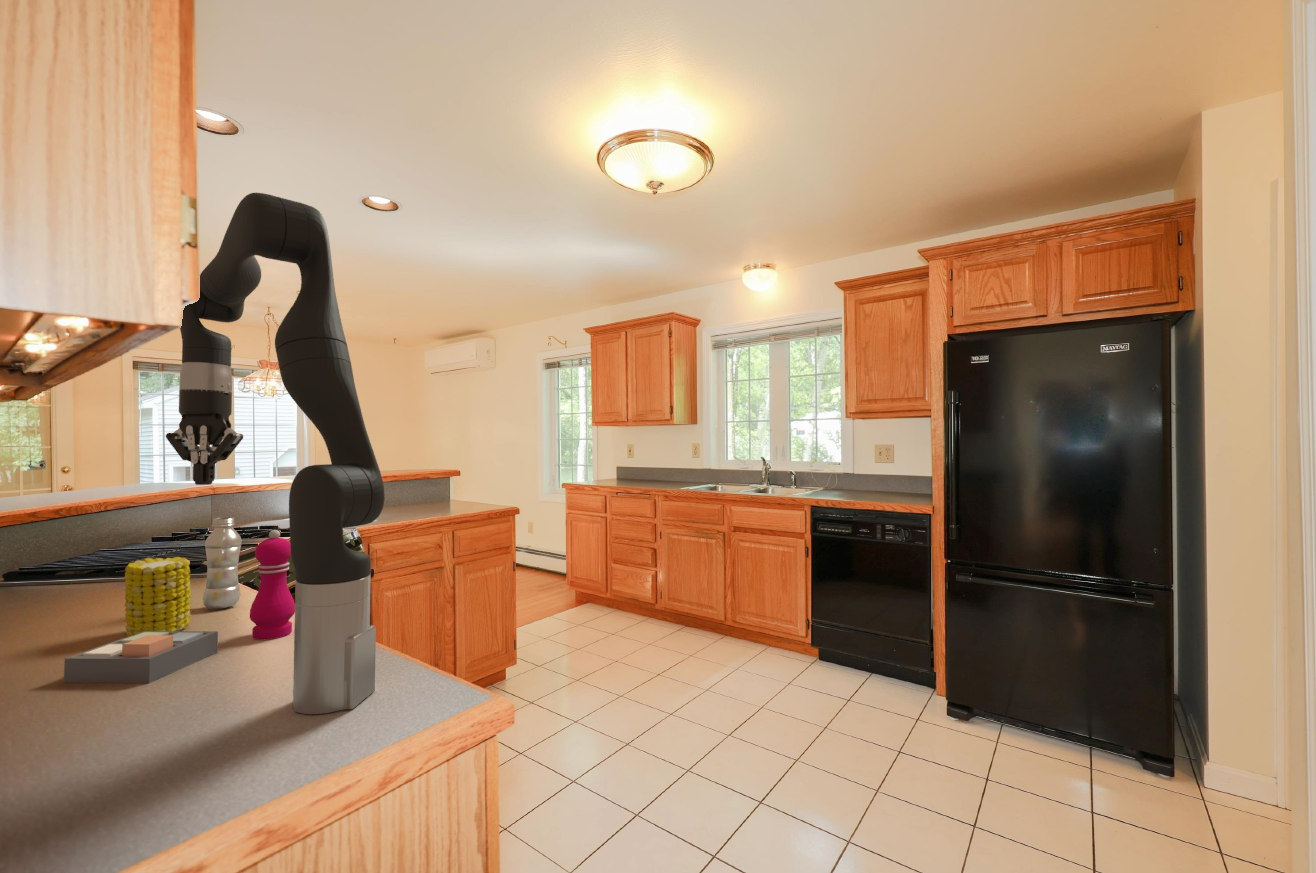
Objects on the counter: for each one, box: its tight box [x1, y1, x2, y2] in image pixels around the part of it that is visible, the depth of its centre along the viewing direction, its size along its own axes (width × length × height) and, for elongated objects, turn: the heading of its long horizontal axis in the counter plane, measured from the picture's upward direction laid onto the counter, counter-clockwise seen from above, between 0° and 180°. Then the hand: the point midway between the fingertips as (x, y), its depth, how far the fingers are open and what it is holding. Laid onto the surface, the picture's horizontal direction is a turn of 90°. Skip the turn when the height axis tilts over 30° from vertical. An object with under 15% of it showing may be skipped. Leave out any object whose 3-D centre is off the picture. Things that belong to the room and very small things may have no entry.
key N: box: [83, 644, 122, 656], centre depth 88 cm, size 4×4×3 cm
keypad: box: [63, 630, 219, 684], centre depth 91 cm, size 13×13×4 cm
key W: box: [121, 632, 169, 643], centre depth 94 cm, size 4×4×3 cm
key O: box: [173, 632, 203, 643], centre depth 94 cm, size 4×4×3 cm
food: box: [123, 556, 192, 637], centre depth 108 cm, size 15×12×10 cm
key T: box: [122, 635, 173, 656], centre depth 88 cm, size 4×4×3 cm
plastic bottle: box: [202, 517, 243, 610], centre depth 126 cm, size 6×7×20 cm
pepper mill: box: [249, 529, 295, 641], centre depth 107 cm, size 7×7×20 cm
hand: (203, 484), depth 102 cm, fingers closed
